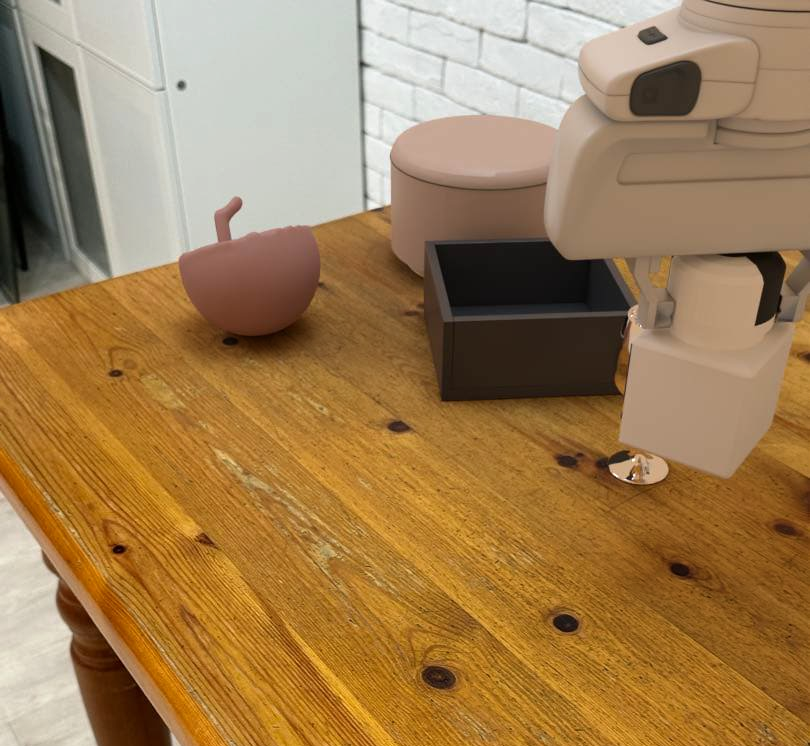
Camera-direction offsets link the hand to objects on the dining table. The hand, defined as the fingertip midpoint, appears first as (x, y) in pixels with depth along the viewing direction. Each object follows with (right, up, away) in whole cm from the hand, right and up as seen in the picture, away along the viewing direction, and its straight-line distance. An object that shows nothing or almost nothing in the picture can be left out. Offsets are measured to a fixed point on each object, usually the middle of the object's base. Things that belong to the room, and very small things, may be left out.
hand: (717, 321), depth 59 cm
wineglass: (-1, -7, +18) cm, 19 cm away
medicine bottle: (0, -6, +5) cm, 8 cm away
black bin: (-8, +4, +32) cm, 33 cm away
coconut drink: (-31, +7, +35) cm, 47 cm away
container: (-10, +16, +47) cm, 51 cm away
